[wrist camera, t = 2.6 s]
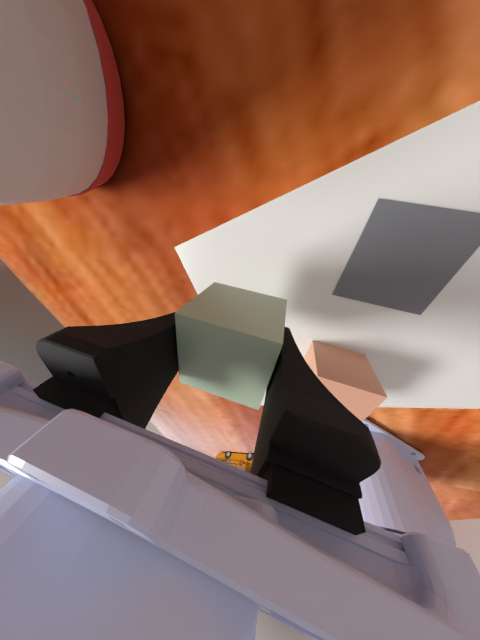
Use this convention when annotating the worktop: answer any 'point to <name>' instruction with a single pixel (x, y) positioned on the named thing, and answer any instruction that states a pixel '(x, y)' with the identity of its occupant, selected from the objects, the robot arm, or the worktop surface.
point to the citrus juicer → (56, 101)
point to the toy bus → (237, 460)
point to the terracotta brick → (346, 377)
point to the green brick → (230, 342)
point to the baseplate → (374, 262)
